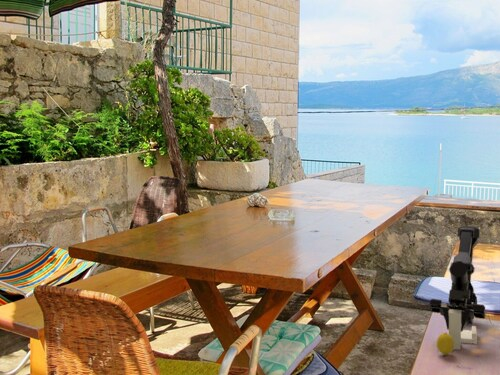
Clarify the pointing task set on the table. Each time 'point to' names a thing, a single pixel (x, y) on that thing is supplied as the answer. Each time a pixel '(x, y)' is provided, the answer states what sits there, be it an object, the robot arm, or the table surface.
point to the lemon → (445, 343)
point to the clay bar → (455, 327)
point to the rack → (469, 336)
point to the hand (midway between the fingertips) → (454, 330)
